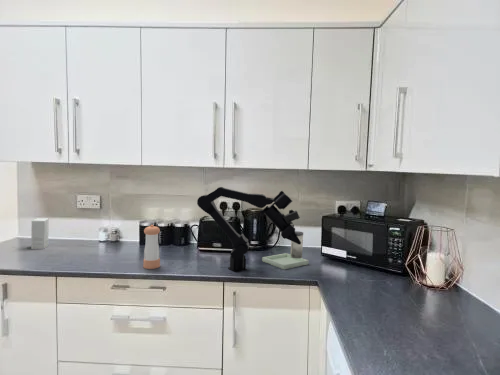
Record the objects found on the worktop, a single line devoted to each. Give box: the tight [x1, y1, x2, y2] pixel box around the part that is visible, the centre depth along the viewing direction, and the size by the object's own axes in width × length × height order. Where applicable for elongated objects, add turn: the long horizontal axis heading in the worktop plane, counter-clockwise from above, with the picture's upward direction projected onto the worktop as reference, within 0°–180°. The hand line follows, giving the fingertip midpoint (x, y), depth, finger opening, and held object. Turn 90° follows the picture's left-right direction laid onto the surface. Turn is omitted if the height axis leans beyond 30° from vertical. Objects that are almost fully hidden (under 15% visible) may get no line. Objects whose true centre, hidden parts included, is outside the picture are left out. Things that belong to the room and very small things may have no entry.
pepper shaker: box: [143, 224, 161, 270], centre depth 151 cm, size 7×7×19 cm
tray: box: [261, 252, 310, 270], centre depth 163 cm, size 16×16×2 cm
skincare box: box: [30, 217, 49, 250], centre depth 181 cm, size 8×7×16 cm
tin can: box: [290, 230, 304, 258], centre depth 148 cm, size 5×5×11 cm
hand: (299, 242), depth 148 cm, fingers closed on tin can, 5 cm apart
